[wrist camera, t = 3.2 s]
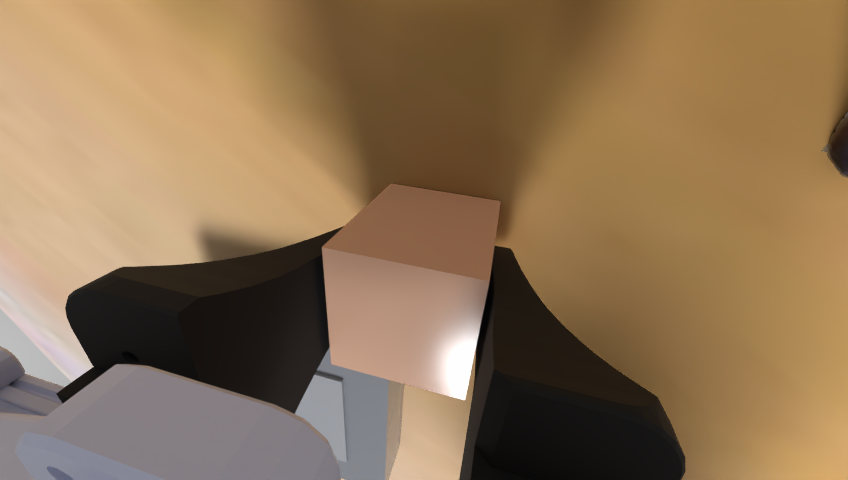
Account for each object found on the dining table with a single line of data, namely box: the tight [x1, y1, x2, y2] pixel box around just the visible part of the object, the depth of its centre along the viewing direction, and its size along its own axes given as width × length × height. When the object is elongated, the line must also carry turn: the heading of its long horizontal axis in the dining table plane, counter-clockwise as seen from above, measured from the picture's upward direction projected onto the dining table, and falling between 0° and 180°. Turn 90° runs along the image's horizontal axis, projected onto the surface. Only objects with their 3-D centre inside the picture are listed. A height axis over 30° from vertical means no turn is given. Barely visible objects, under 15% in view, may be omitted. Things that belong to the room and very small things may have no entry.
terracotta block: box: [322, 184, 501, 400], centre depth 11 cm, size 4×4×5 cm
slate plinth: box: [295, 347, 404, 480], centre depth 17 cm, size 10×10×3 cm
